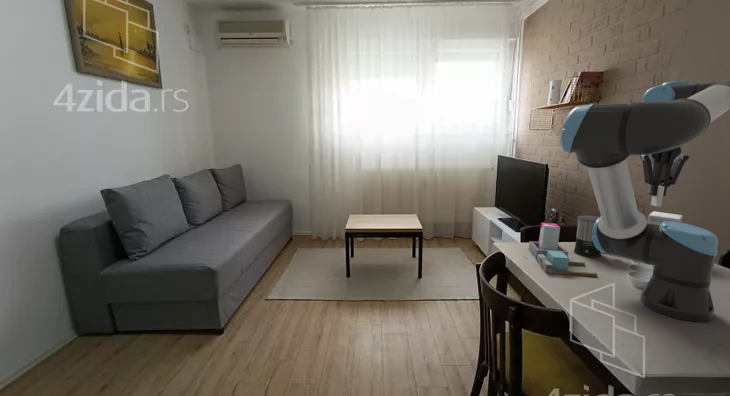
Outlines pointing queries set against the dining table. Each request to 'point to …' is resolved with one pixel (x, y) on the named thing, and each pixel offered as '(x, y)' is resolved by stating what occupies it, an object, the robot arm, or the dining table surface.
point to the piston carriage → (558, 260)
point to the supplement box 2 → (663, 218)
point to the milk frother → (586, 237)
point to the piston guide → (548, 268)
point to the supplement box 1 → (549, 236)
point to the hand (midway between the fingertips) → (655, 205)
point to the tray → (535, 251)
